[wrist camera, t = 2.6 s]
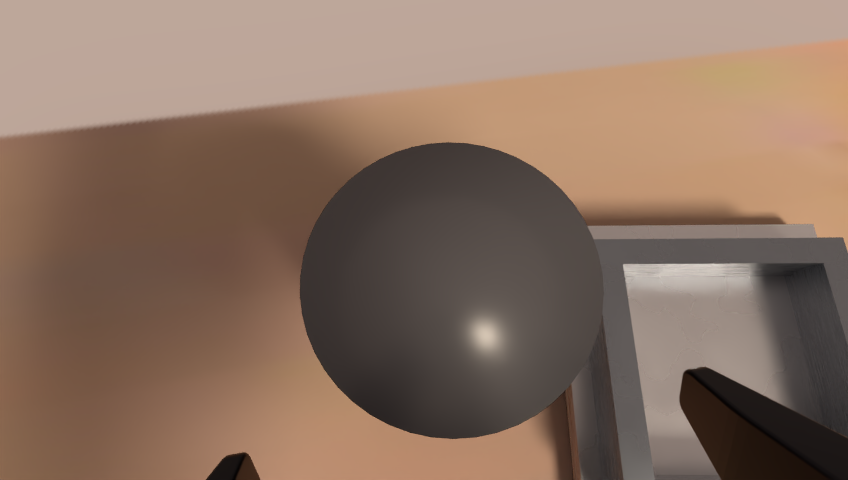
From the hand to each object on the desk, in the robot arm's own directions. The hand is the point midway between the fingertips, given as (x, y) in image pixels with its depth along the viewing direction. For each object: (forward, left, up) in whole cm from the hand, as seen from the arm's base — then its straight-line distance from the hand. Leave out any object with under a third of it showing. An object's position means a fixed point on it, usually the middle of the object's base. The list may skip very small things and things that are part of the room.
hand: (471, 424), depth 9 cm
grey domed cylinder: (+2, 0, -10) cm, 10 cm away
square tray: (+1, -10, -10) cm, 14 cm away
